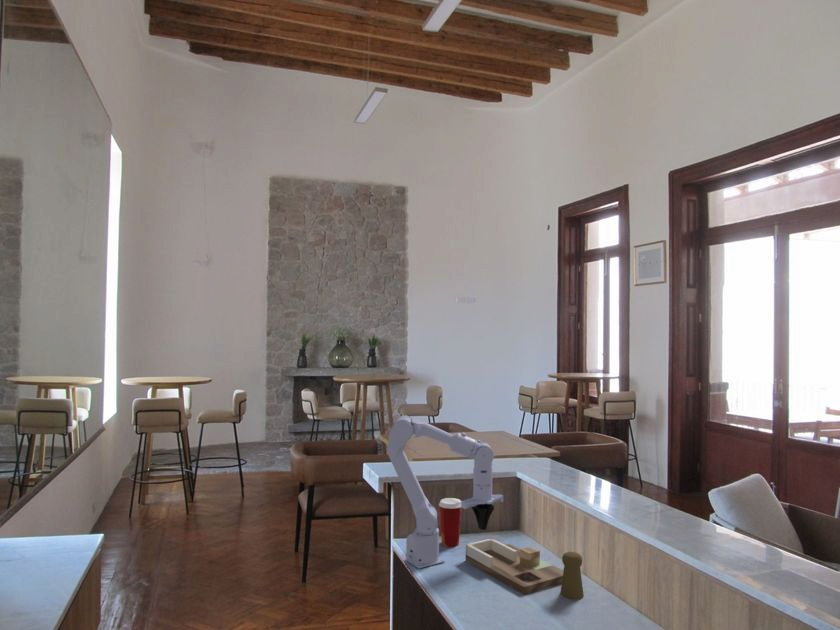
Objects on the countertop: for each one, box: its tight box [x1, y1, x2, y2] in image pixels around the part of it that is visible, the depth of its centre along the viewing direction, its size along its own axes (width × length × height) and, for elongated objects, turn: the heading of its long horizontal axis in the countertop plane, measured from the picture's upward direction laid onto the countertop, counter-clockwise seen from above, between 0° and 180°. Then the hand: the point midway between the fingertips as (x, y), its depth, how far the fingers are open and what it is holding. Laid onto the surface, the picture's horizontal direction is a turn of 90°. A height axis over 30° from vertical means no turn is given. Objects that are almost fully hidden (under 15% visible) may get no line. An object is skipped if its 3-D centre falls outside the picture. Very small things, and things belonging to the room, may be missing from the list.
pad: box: [532, 558, 552, 570], centre depth 181 cm, size 6×7×2 cm
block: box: [519, 546, 541, 567], centre depth 181 cm, size 4×4×4 cm
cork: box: [559, 551, 585, 601], centre depth 165 cm, size 6×6×11 cm
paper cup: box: [438, 497, 462, 548], centre depth 201 cm, size 8×8×14 cm
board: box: [465, 543, 564, 595], centre depth 180 cm, size 17×26×2 cm, turn 32°
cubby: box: [465, 538, 517, 568], centre depth 185 cm, size 10×12×3 cm
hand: (482, 528), depth 187 cm, fingers closed
